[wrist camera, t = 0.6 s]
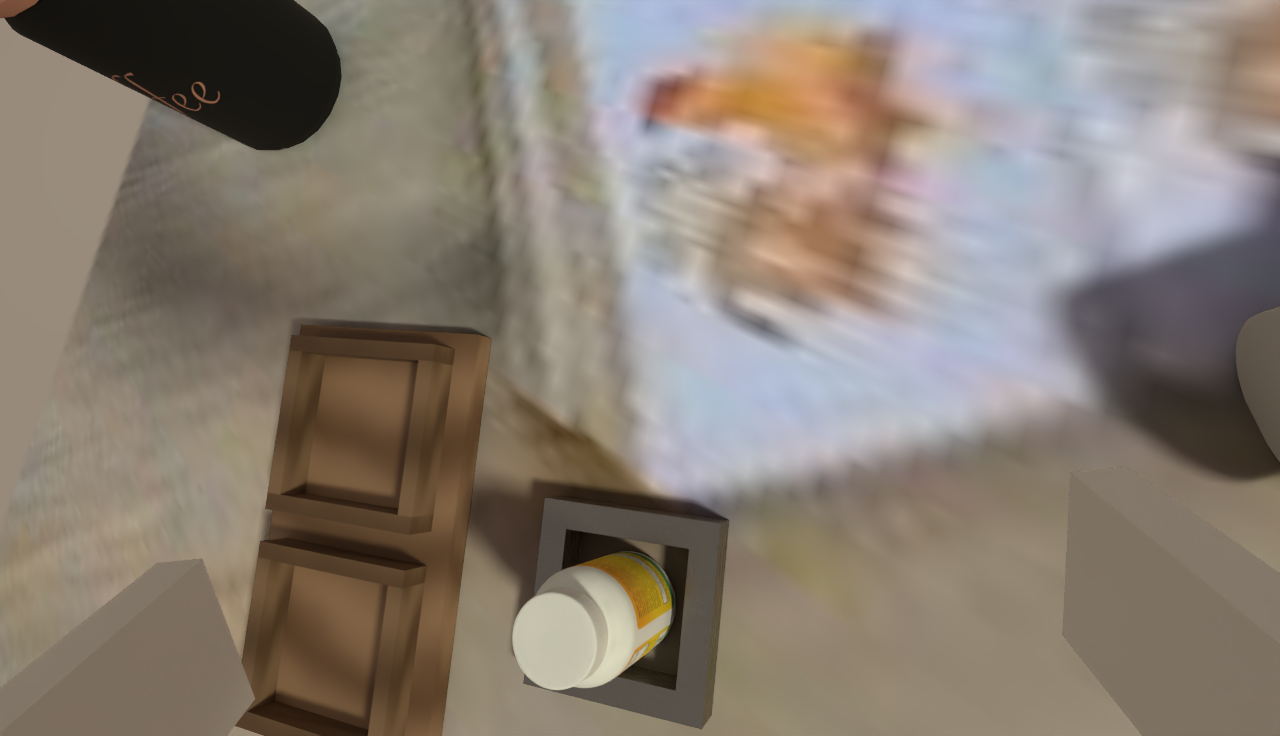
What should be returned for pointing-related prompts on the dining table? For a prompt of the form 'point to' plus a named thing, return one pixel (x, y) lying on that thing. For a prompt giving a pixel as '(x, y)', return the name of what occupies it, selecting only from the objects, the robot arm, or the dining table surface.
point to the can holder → (707, 546)
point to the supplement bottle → (593, 621)
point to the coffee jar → (201, 58)
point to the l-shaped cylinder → (1262, 372)
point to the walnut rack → (365, 533)
